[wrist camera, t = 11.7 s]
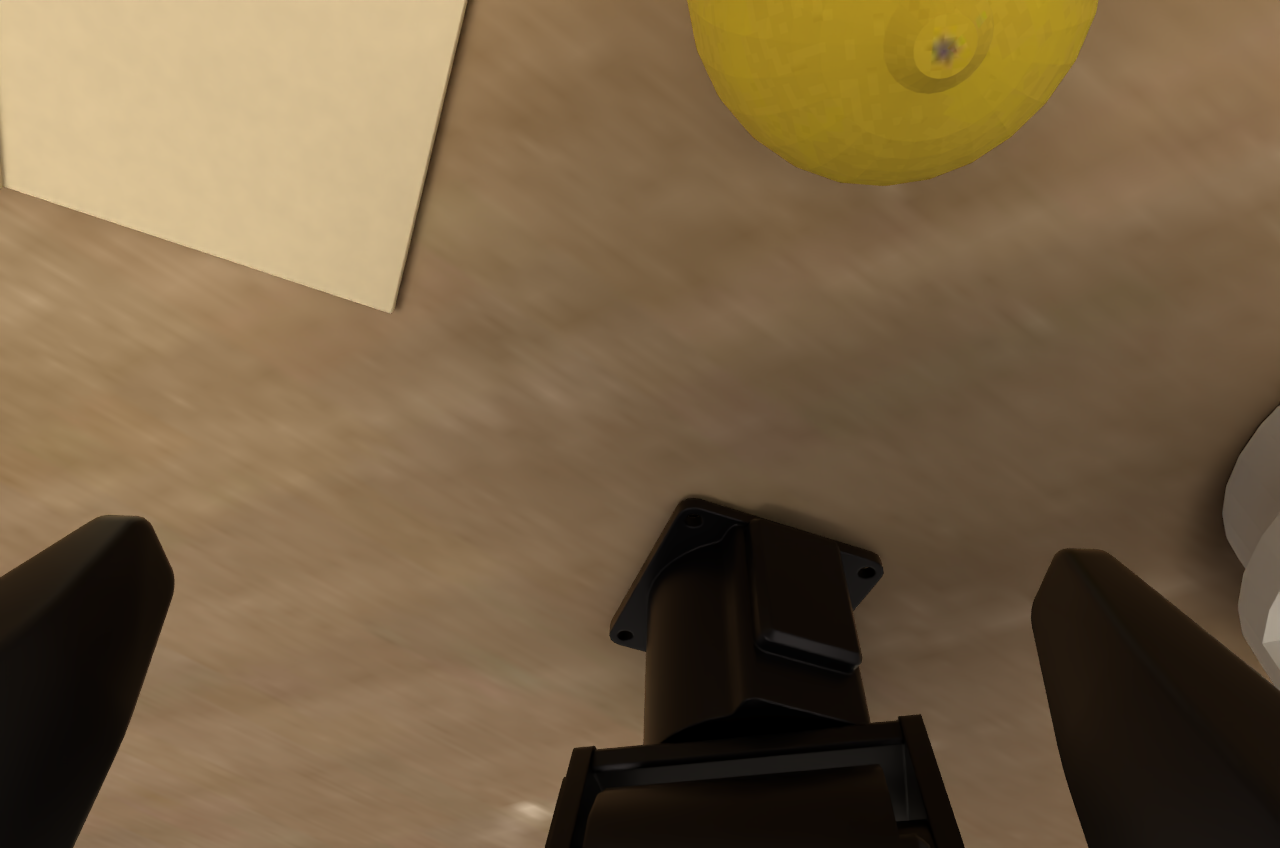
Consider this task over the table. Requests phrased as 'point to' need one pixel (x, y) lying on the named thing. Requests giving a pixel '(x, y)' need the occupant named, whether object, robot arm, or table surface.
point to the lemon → (886, 77)
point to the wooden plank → (235, 125)
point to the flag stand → (1258, 541)
